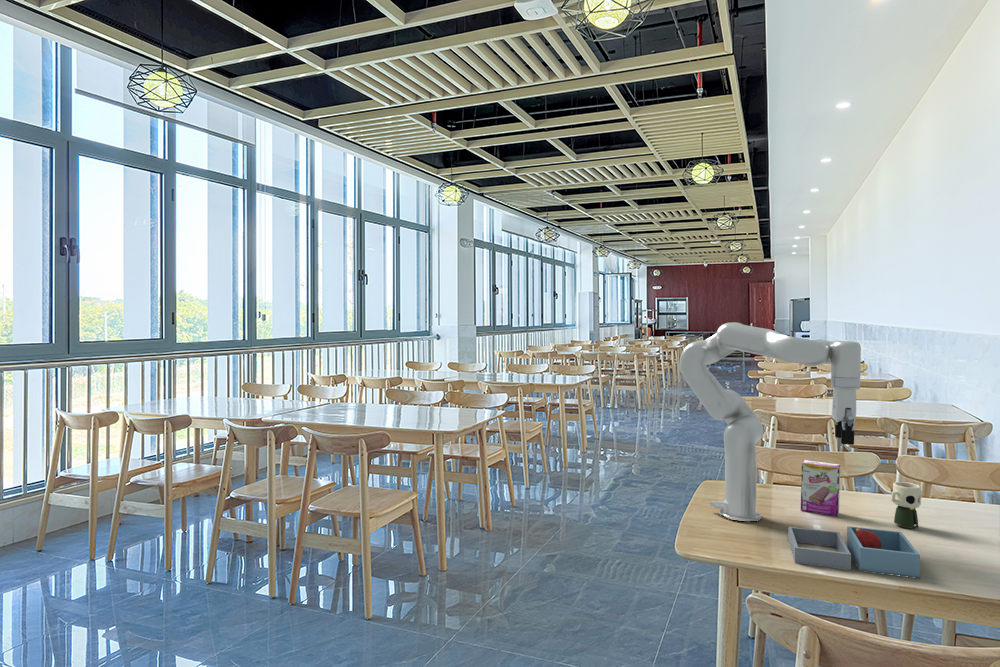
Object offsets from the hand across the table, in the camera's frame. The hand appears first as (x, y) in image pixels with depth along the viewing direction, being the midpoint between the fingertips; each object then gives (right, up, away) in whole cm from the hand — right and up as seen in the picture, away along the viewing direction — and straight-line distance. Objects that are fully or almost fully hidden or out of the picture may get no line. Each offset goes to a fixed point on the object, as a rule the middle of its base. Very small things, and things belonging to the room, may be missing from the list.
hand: (844, 440), depth 178 cm
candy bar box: (+5, -28, +23) cm, 36 cm away
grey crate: (-15, -29, -13) cm, 35 cm away
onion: (-1, -28, -18) cm, 33 cm away
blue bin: (-1, -29, -18) cm, 34 cm away
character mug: (+24, -28, +9) cm, 38 cm away
